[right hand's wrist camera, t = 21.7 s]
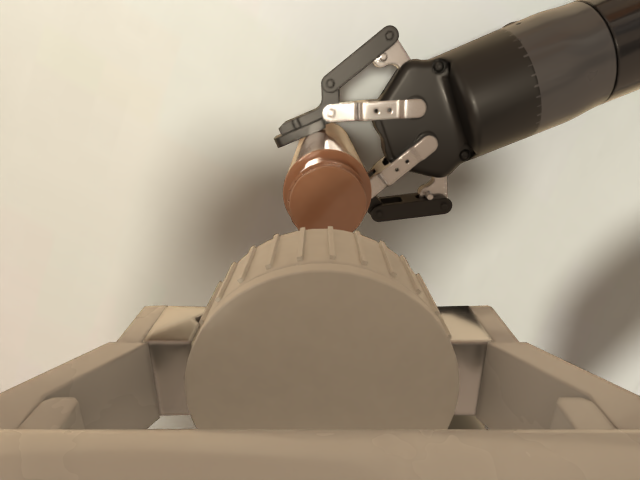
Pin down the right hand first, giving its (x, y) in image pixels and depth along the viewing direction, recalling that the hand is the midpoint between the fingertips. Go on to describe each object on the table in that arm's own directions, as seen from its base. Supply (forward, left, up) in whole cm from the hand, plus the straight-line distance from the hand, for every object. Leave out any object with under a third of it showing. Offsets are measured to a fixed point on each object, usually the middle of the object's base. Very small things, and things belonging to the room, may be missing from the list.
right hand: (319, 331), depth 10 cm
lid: (0, 0, +2) cm, 2 cm away
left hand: (0, +2, -23) cm, 23 cm away
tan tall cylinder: (0, 0, -29) cm, 29 cm away
